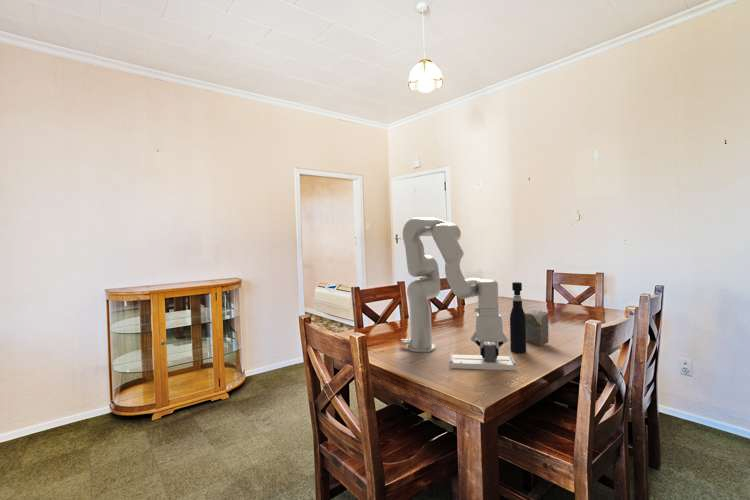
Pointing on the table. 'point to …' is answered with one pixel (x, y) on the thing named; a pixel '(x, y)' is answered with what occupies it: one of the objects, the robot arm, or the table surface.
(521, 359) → the table surface
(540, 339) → the geological specimen
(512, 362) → the fader panel
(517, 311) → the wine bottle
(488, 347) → the fader knob
